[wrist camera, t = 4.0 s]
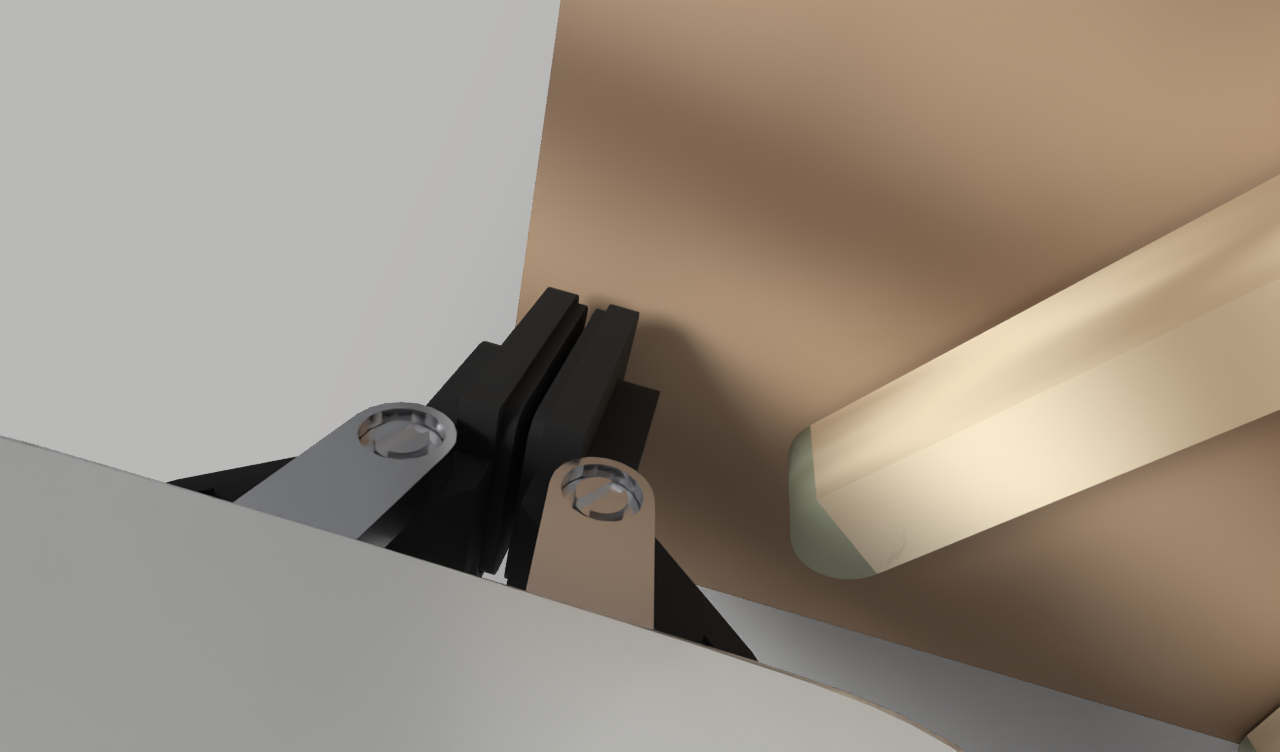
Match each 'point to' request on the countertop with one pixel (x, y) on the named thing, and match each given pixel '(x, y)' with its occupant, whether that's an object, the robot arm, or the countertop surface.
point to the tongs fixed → (1263, 736)
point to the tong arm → (1051, 398)
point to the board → (921, 297)
